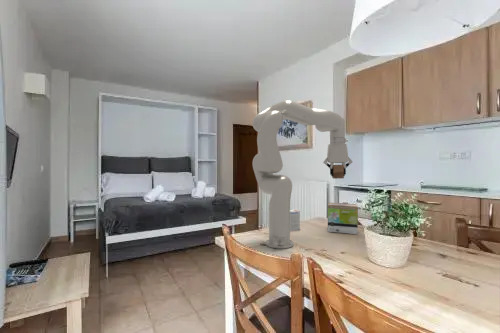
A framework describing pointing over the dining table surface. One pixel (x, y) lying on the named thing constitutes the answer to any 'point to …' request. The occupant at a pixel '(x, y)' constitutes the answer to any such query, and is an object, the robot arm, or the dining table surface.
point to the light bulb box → (294, 219)
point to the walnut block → (338, 171)
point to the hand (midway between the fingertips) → (337, 175)
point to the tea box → (343, 218)
